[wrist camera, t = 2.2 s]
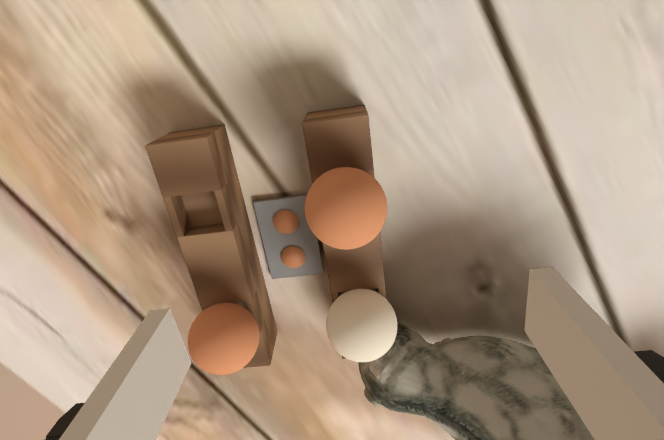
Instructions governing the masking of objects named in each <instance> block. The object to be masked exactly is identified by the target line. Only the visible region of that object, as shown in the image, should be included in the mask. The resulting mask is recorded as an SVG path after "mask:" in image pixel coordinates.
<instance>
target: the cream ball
mask: <svg viewBox="0 0 664 440" xmlns="http://www.w3.org/2000/svg"><path fill="white" fill-rule="evenodd" d="M326 329H327V334H328V338H329V340H330V342H331V344H332V346H333V347H334V348H335V350H336V351H337V352H338V353H339V354H341V355H342V356H343V357H345V358H347V359H349V360H352V361H355V362H370V361H373V360H376V359H378V358H380V357H381V356H383V355H384V354H385V353H386V352H387V351H388V350H389V349H390V348H391V346H392V345H393V343H394V341H395V338H396V335H397V318H396V314H395V311H394V309H393V308H392V306H391V304H390V303H389V302H388V301H387V299H386V298H385V297H383V296H382V295H380V294H379V293H377V292H375V291H372V290H369V289H353V290H350V291H347V292H345V293H343V294H342V295H341V296H339V297H338V298H337V299H336V300H335V301H334V303H333V304H332V306H331V307H330V309H329V312H328V315H327V320H326Z"/></svg>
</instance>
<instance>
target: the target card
mask: <svg viewBox="0 0 664 440" xmlns="http://www.w3.org/2000/svg"><path fill="white" fill-rule="evenodd" d="M306 196H307V194H305V195H296V196H288V197H280V198H272V199H264V200H256V201H254V202H253V204H254V208H255V212H256V216H257V220H258V224H259V228H260V232H261V236H262V241H263V245H264V249H265V253H266V257H267V261H268V265H269V269H270V273H271V277H272V279H276V278H285V277H294V276H304V275H313V274H322V273H324V270H323V264H322V258H321V253H320V247H319V241H318V238H317V237H316V236H315V235H314V234H313V232H312V231H311V229H310V228H309V226H308V223H307V220H306V216H305V200H306Z"/></svg>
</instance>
